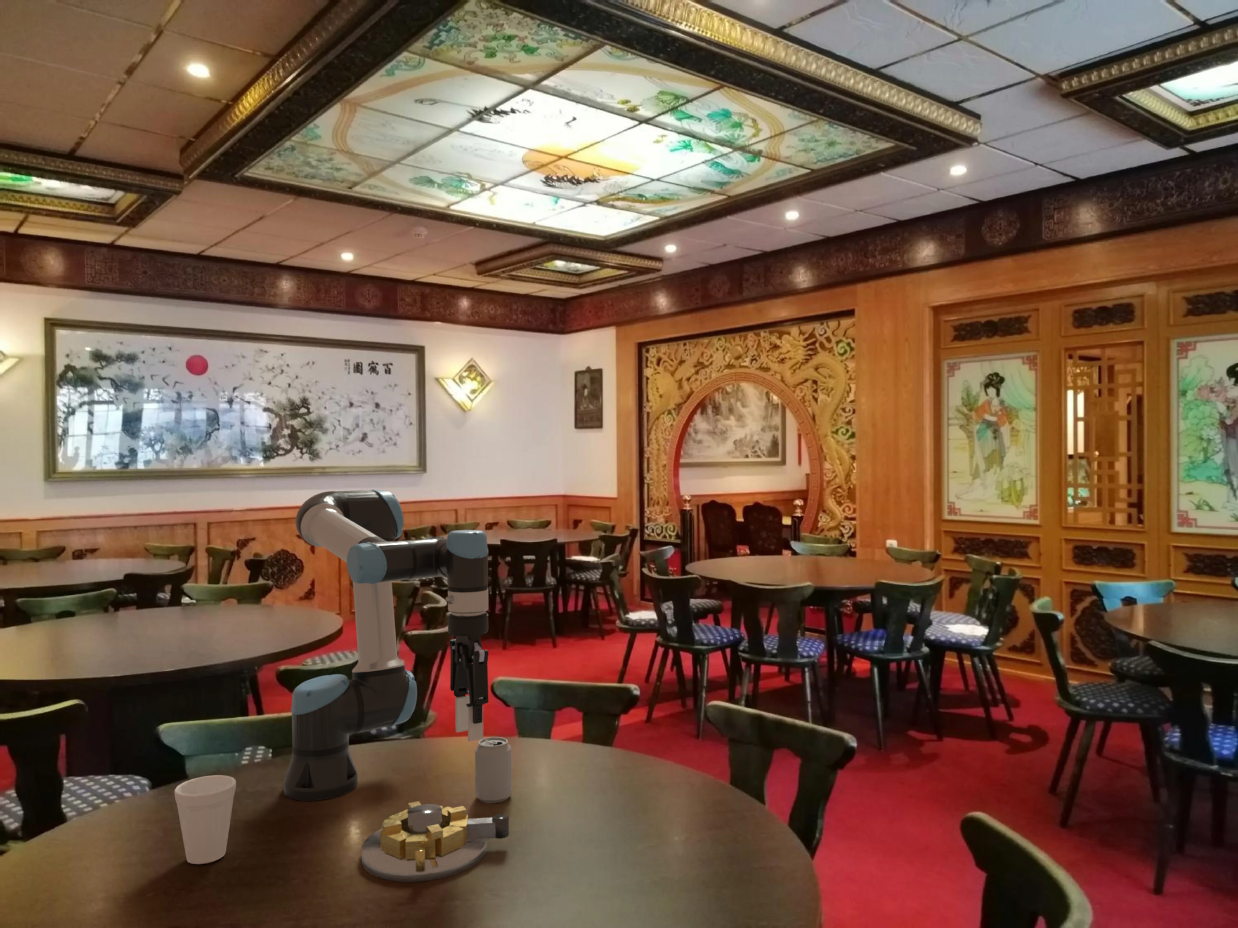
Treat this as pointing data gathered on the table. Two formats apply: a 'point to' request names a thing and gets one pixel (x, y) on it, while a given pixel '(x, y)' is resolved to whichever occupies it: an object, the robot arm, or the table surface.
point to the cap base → (409, 865)
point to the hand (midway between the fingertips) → (469, 734)
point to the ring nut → (439, 832)
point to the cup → (205, 816)
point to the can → (493, 770)
